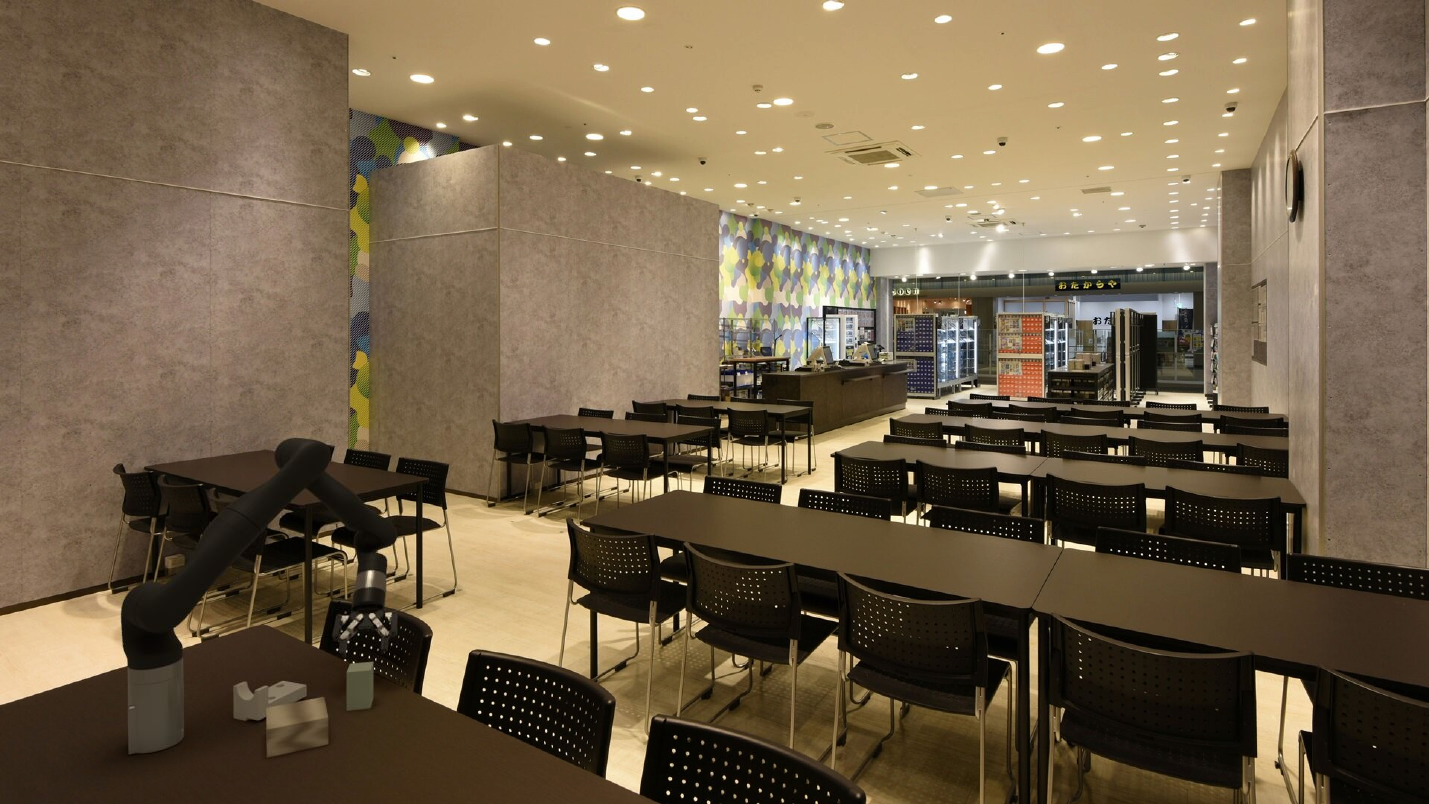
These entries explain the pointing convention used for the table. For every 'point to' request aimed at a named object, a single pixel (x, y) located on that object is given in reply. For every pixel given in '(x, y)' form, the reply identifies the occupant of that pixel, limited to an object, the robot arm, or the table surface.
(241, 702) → the bracket
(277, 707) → the birch block
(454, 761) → the table surface
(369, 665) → the green prism
